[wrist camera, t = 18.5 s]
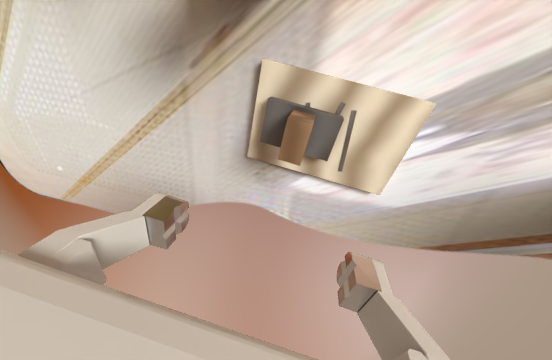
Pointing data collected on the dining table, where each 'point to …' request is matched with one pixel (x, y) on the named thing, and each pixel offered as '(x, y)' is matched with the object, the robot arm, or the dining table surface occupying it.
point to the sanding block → (299, 130)
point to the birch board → (343, 125)
